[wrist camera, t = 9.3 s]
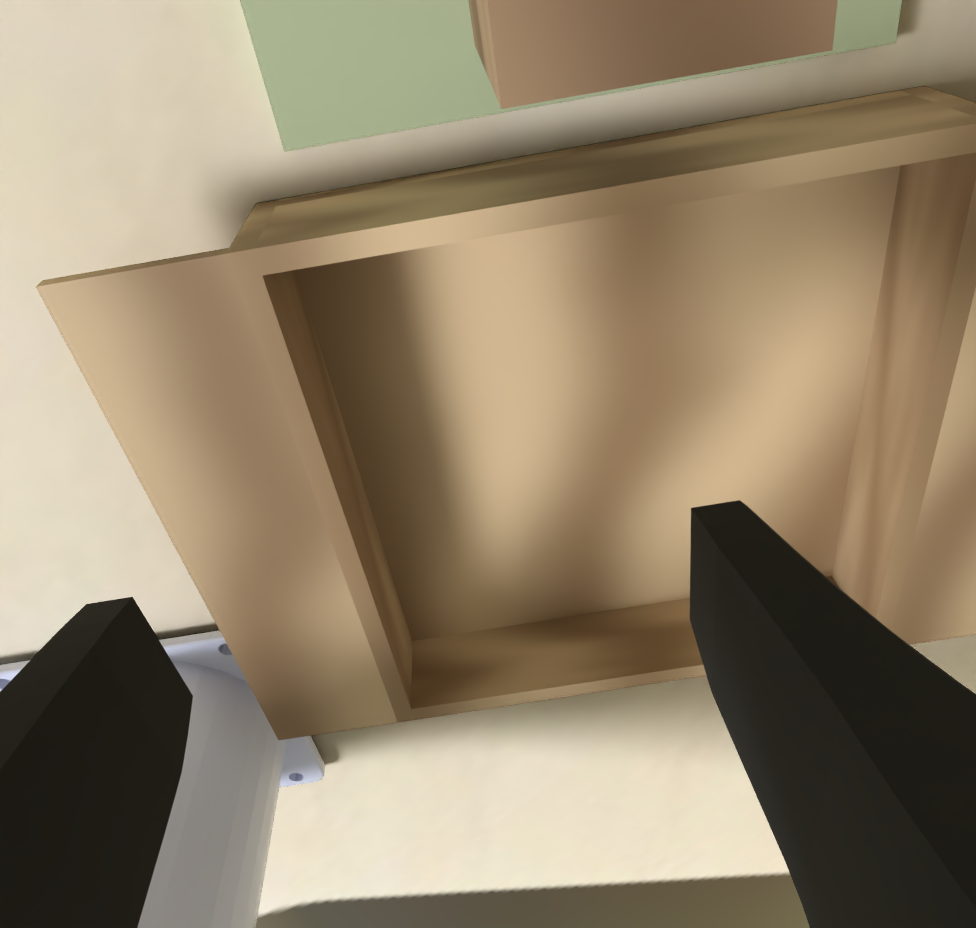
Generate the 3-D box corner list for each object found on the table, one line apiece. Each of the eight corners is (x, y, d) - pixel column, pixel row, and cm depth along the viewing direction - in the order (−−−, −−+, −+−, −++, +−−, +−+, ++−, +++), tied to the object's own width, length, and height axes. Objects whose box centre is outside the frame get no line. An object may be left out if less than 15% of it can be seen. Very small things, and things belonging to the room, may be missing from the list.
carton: (293, 658, 24) (278, 740, 22) (95, 231, 16) (36, 287, 14) (951, 555, 23) (1012, 628, 21) (1097, 55, 15) (1224, 80, 13)
